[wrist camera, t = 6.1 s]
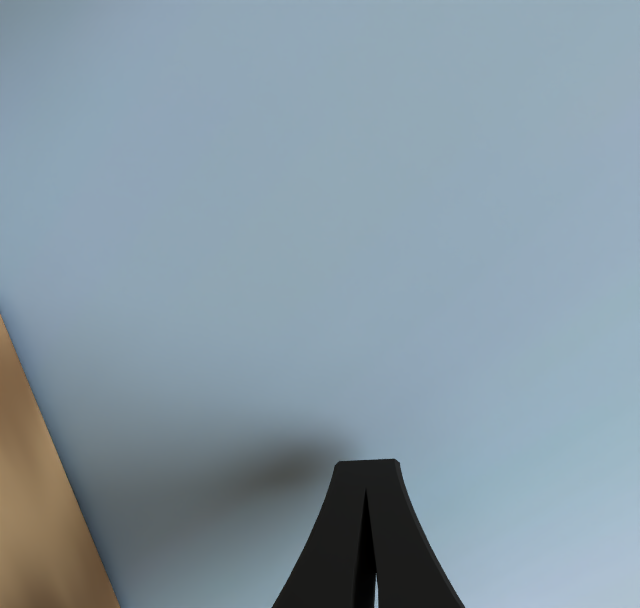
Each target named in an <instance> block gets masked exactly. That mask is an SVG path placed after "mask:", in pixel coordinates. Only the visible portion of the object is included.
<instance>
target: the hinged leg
mask: <svg viewBox="0 0 640 608" xmlns="http://www.w3.org/2000/svg"><path fill="white" fill-rule="evenodd" d="M0 608H120V605H119V603H118V601H117V598H116V596H115V593H114V591H113V588H112V586H111V583H110V581H109V579H108V576H107V574H106V571H105V569H104V566H103V564H102V561H101V559H100V557H99V554H98V552H97V549H96V547H95V544H94V542H93V539H92V537H91V535H90V532H89V530H88V527H87V525H86V522H85V520H84V517H83V515H82V513H81V510H80V508H79V505H78V503H77V500H76V498H75V495H74V493H73V491H72V488H71V486H70V483H69V481H68V478H67V476H66V473H65V471H64V469H63V466H62V464H61V461H60V459H59V456H58V454H57V451H56V449H55V447H54V444H53V442H52V439H51V437H50V434H49V432H48V429H47V427H46V425H45V422H44V420H43V417H42V415H41V412H40V410H39V407H38V405H37V403H36V400H35V398H34V395H33V393H32V390H31V388H30V385H29V383H28V381H27V378H26V376H25V373H24V371H23V368H22V366H21V363H20V361H19V359H18V356H17V354H16V351H15V349H14V346H13V344H12V341H11V339H10V337H9V334H8V332H7V329H6V327H5V324H4V322H3V319H2V317H1V315H0Z"/></svg>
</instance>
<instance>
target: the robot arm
mask: <svg viewBox="0 0 640 608" xmlns="http://www.w3.org/2000/svg"><path fill="white" fill-rule="evenodd" d="M376 576H377V584H378V607H379V608H465V606H464V605H463V603H462V602H461V600H460V598H459V597H458V595H457V593H456V592H455V590H454V588H453V587H452V585H451V583H450V581H449V580H448V578H447V576H446V574H445V572H444V571H443V569H442V567H441V565H440V563H439V561H438V560H437V558H436V556H435V554H434V552H433V550H432V548H431V546H430V544H429V542H428V540H427V538H426V535H425V533H424V531H423V529H422V527H421V525H420V523H419V521H418V518H417V516H416V514H415V511H414V509H413V506H412V504H411V501H410V498H409V496H408V493H407V490H406V487H405V484H404V480H403V477H402V473H401V468H400V463H399V462H398V461H397V460H395V459H378V460H357V461H339V462H338V463H337V464H336V465H335V467H334V471H333V475H332V479H331V482H330V485H329V488H328V491H327V494H326V497H325V500H324V502H323V505H322V508H321V510H320V513H319V515H318V517H317V520H316V522H315V524H314V527H313V529H312V531H311V534H310V536H309V538H308V540H307V543H306V545H305V547H304V549H303V551H302V553H301V555H300V557H299V559H298V561H297V563H296V564H295V566H294V568H293V570H292V572H291V574H290V576H289V578H288V580H287V582H286V584H285V585H284V587H283V589H282V591H281V593H280V594H279V596H278V598H277V599H276V601H275V603H274V604H273V606H272V608H374V602H375V582H376Z"/></svg>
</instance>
